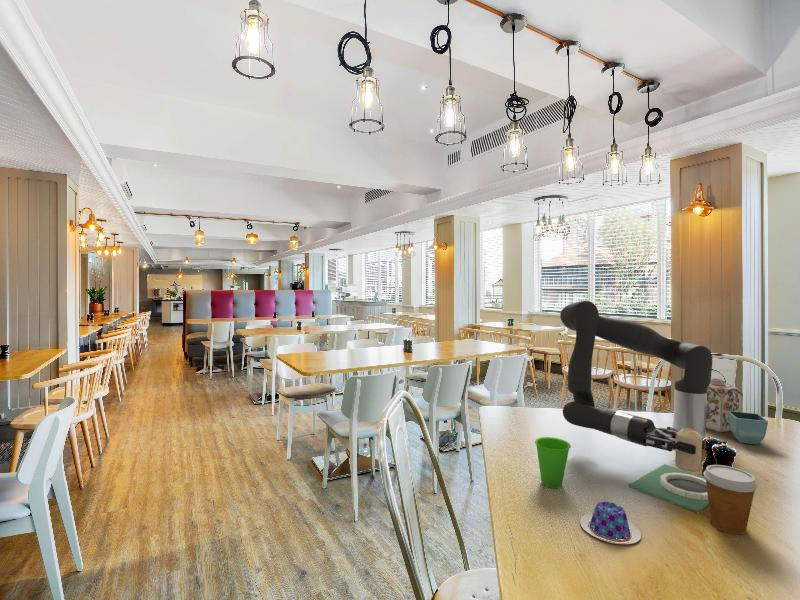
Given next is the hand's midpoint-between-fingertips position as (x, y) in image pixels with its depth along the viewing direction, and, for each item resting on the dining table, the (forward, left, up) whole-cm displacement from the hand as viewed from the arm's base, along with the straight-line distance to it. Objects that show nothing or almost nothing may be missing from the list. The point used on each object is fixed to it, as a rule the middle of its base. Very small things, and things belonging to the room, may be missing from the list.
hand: (700, 447), depth 110 cm
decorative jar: (-65, -16, -12) cm, 68 cm away
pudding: (+34, -5, -12) cm, 37 cm away
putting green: (0, -4, -12) cm, 13 cm away
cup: (+26, -25, -12) cm, 38 cm away
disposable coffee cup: (+12, +10, -12) cm, 19 cm away
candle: (0, -3, -6) cm, 7 cm away
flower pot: (-55, -4, -12) cm, 57 cm away
